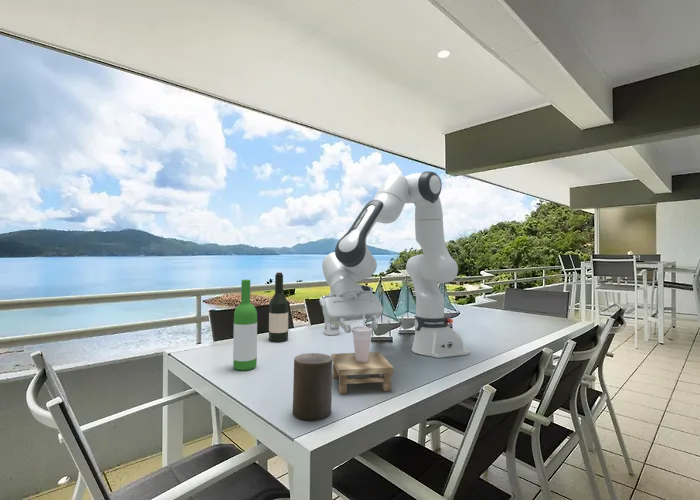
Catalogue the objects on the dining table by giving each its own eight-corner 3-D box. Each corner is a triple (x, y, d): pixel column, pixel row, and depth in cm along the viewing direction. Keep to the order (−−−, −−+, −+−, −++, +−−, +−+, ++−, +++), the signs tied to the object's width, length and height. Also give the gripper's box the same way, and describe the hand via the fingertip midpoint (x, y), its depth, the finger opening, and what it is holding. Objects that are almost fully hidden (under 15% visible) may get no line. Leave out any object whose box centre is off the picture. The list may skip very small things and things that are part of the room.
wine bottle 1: (257, 363, 132) (258, 278, 131) (255, 370, 124) (256, 281, 124) (234, 364, 130) (235, 279, 130) (231, 371, 123) (232, 281, 122)
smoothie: (370, 364, 110) (371, 317, 110) (349, 362, 111) (349, 316, 111) (373, 357, 116) (374, 313, 116) (353, 356, 118) (353, 312, 118)
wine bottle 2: (278, 337, 170) (279, 271, 170) (291, 340, 165) (292, 272, 165) (264, 340, 163) (265, 272, 163) (278, 343, 159) (278, 273, 158)
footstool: (378, 372, 123) (379, 351, 123) (393, 391, 108) (393, 367, 107) (330, 375, 120) (331, 353, 120) (338, 394, 105) (338, 370, 105)
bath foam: (341, 333, 179) (342, 291, 179) (334, 336, 173) (335, 293, 173) (329, 331, 182) (329, 291, 182) (321, 334, 176) (322, 292, 176)
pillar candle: (310, 425, 87) (312, 360, 87) (284, 412, 93) (286, 352, 93) (339, 412, 94) (340, 352, 94) (313, 401, 100) (314, 345, 100)
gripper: (320, 289, 114) (335, 327, 106) (375, 286, 125) (393, 321, 116) (314, 302, 118) (328, 339, 110) (368, 298, 129) (384, 332, 120)
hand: (362, 330), depth 113 cm, fingers open, 8 cm apart
